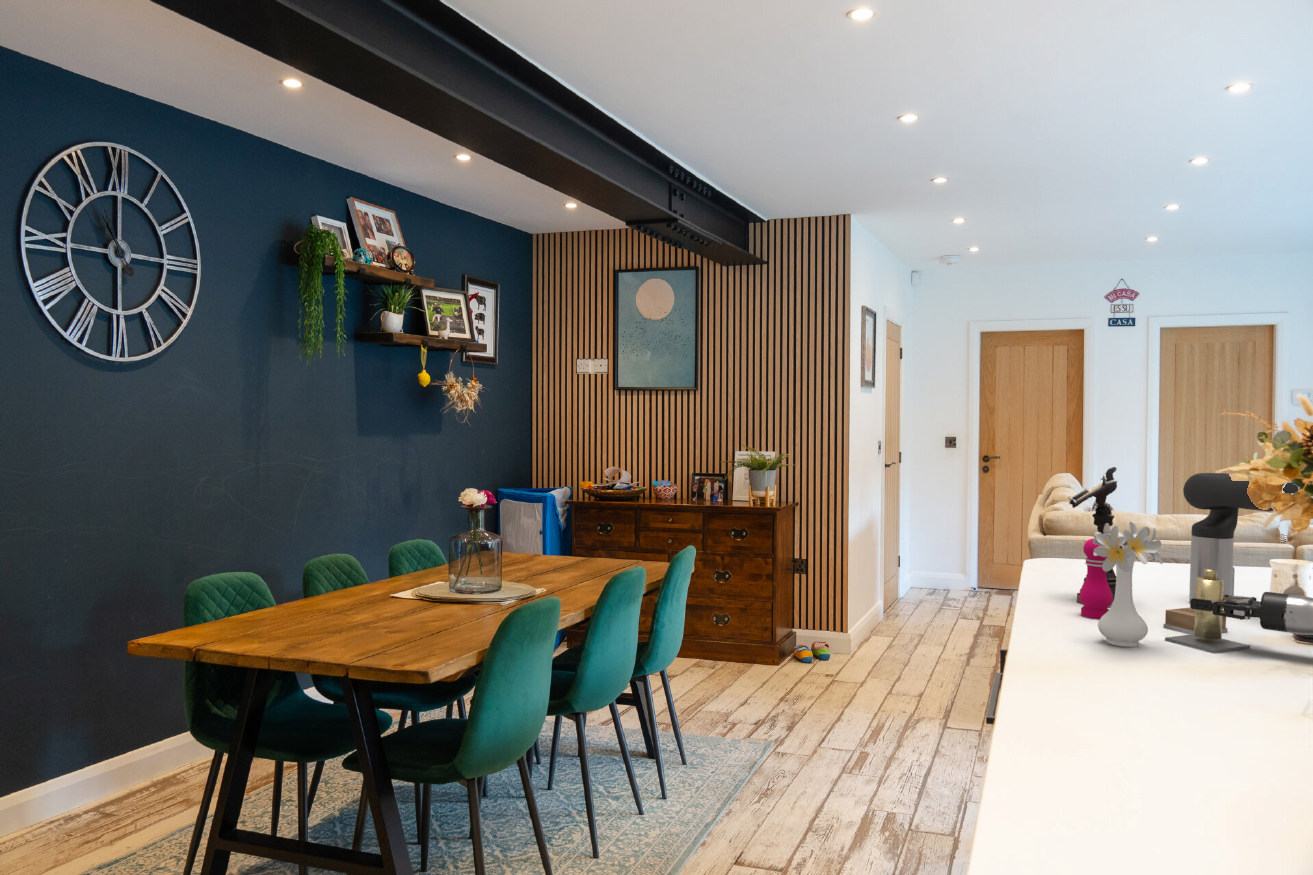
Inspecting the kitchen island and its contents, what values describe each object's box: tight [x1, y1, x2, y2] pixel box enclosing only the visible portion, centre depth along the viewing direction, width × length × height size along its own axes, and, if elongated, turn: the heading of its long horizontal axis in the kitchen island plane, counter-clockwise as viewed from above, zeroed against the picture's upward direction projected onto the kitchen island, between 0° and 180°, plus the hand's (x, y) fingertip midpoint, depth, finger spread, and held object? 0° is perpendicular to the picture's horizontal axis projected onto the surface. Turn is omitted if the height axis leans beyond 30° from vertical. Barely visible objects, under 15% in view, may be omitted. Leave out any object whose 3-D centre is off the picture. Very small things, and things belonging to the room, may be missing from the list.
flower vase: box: [1093, 521, 1163, 648], centre depth 194 cm, size 13×18×25 cm
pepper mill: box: [1079, 531, 1113, 620], centre depth 221 cm, size 7×7×20 cm
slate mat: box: [1164, 634, 1251, 654], centre depth 196 cm, size 11×11×1 cm
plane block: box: [1162, 606, 1228, 635], centre depth 209 cm, size 10×8×4 cm
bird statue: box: [1067, 466, 1118, 609], centre depth 237 cm, size 17×13×35 cm
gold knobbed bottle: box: [1194, 569, 1224, 639], centre depth 195 cm, size 5×5×14 cm
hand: (1194, 601), depth 197 cm, fingers closed on gold knobbed bottle, 5 cm apart
